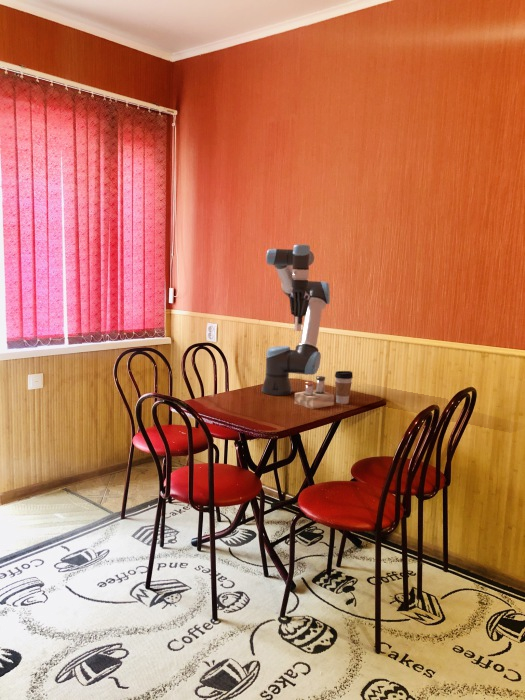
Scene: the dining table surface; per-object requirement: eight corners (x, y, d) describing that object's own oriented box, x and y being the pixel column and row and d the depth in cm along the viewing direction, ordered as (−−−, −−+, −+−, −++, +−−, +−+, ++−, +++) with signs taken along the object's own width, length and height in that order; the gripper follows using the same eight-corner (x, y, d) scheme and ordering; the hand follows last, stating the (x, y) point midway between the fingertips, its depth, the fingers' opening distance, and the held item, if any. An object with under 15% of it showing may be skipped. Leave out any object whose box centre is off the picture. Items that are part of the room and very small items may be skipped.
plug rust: (302, 400, 265) (303, 381, 264) (308, 399, 268) (309, 380, 266) (308, 402, 262) (309, 383, 261) (315, 401, 265) (316, 382, 263)
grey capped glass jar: (313, 395, 269) (314, 376, 268) (319, 394, 272) (320, 375, 271) (319, 397, 266) (320, 378, 265) (326, 396, 269) (327, 377, 268)
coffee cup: (350, 405, 268) (352, 373, 266) (332, 403, 270) (334, 372, 267) (351, 401, 276) (353, 370, 274) (334, 399, 278) (335, 369, 276)
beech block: (294, 403, 268) (294, 392, 267) (315, 399, 276) (316, 389, 276) (312, 408, 258) (312, 398, 258) (333, 404, 267) (334, 394, 267)
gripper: (284, 278, 261) (282, 329, 265) (304, 279, 251) (301, 332, 255) (296, 278, 266) (294, 328, 270) (316, 279, 256) (313, 332, 260)
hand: (297, 330), depth 262 cm, fingers closed
